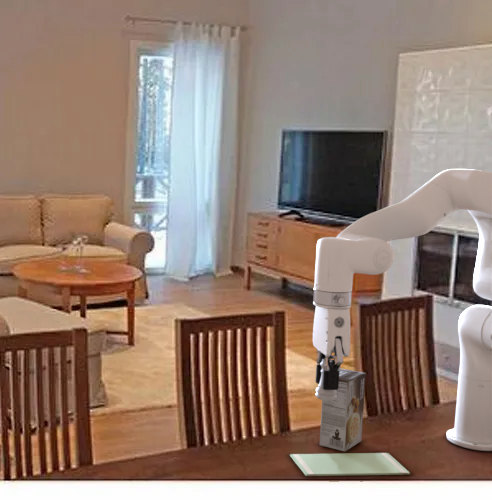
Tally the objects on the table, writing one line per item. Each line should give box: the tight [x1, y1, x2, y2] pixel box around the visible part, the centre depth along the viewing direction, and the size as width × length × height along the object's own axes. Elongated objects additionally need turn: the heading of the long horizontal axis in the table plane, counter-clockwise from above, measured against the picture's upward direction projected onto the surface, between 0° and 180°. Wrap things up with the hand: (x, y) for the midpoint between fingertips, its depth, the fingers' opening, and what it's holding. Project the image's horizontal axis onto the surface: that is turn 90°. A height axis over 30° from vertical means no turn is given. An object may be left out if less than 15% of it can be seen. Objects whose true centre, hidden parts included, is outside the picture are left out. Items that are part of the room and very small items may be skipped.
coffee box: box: [319, 367, 367, 453], centre depth 188 cm, size 9×6×16 cm
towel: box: [289, 452, 411, 477], centre depth 176 cm, size 22×11×1 cm, turn 97°
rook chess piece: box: [315, 358, 337, 401], centre depth 172 cm, size 4×4×8 cm
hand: (326, 385), depth 173 cm, fingers closed on rook chess piece, 3 cm apart
